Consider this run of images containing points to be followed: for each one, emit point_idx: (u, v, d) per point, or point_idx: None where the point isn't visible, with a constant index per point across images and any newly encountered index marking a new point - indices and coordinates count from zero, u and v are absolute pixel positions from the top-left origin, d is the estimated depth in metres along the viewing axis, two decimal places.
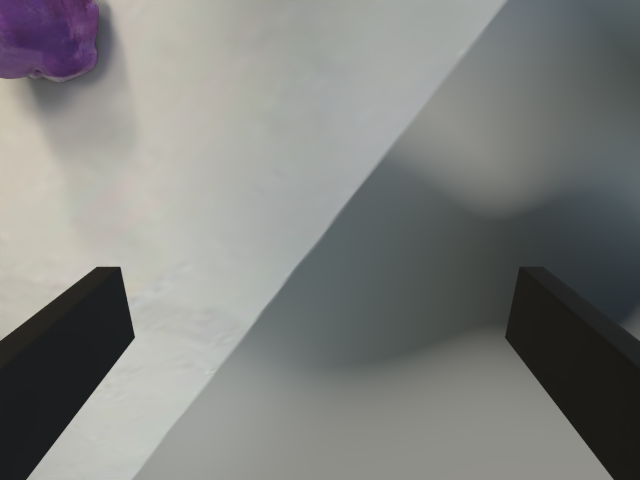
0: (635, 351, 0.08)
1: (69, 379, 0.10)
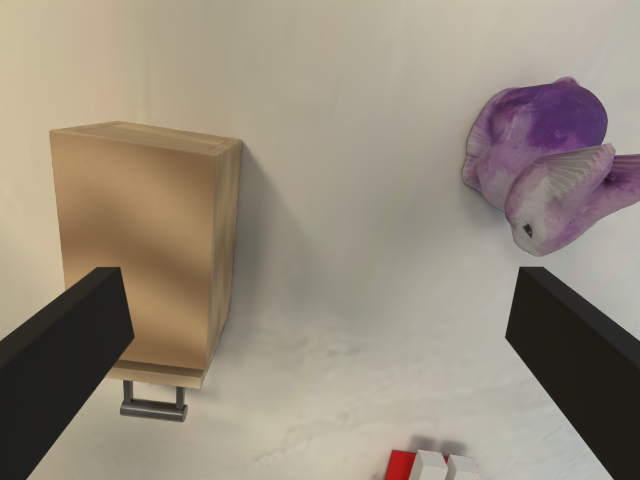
0: (635, 351, 0.08)
1: (69, 379, 0.10)
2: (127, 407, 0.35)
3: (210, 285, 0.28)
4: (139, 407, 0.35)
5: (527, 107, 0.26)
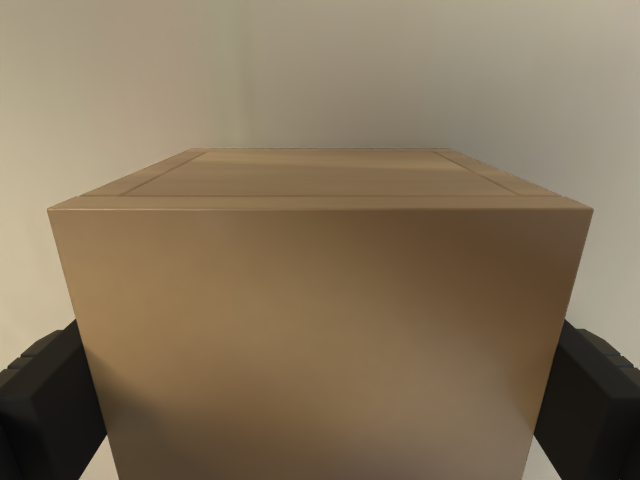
0: None
1: None
2: None
3: None
4: None
5: None
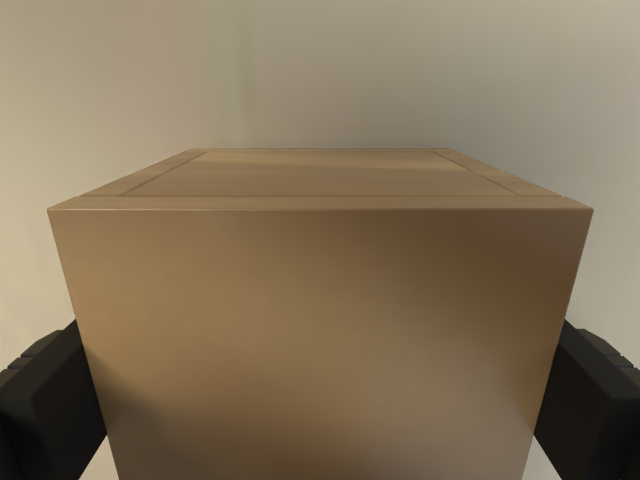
0: None
1: None
2: None
3: None
4: None
5: None
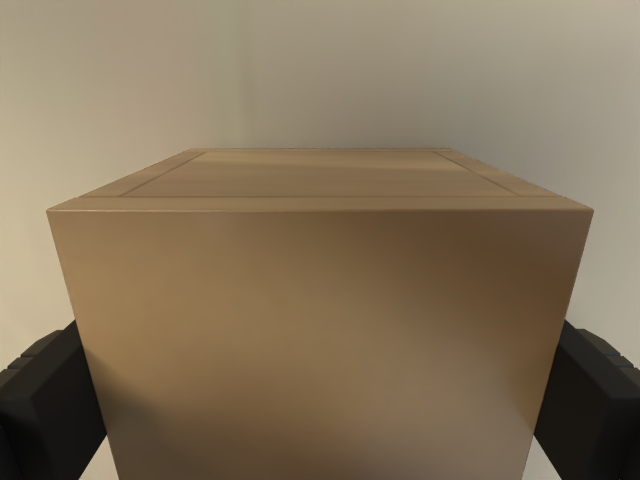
0: None
1: None
2: None
3: None
4: None
5: None
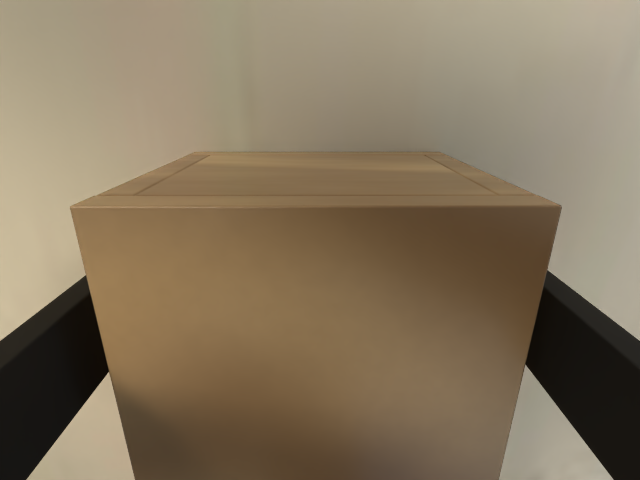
0: (635, 351, 0.08)
1: (69, 379, 0.10)
2: None
3: None
4: None
5: None
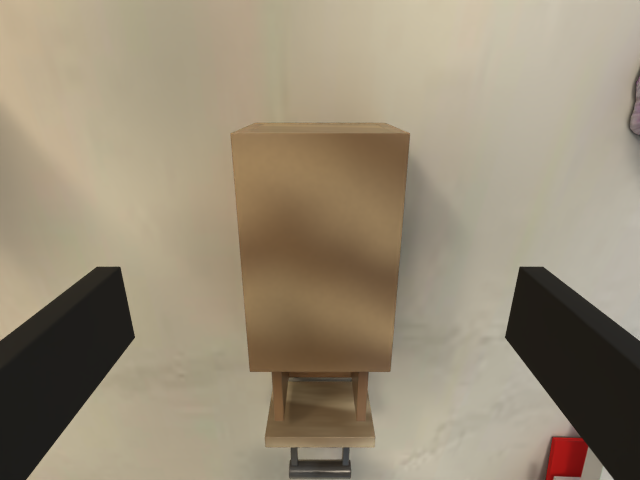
0: (635, 351, 0.08)
1: (69, 379, 0.10)
2: (296, 470, 0.35)
3: None
4: (307, 469, 0.36)
5: None
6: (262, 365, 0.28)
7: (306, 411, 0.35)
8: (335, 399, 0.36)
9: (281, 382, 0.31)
